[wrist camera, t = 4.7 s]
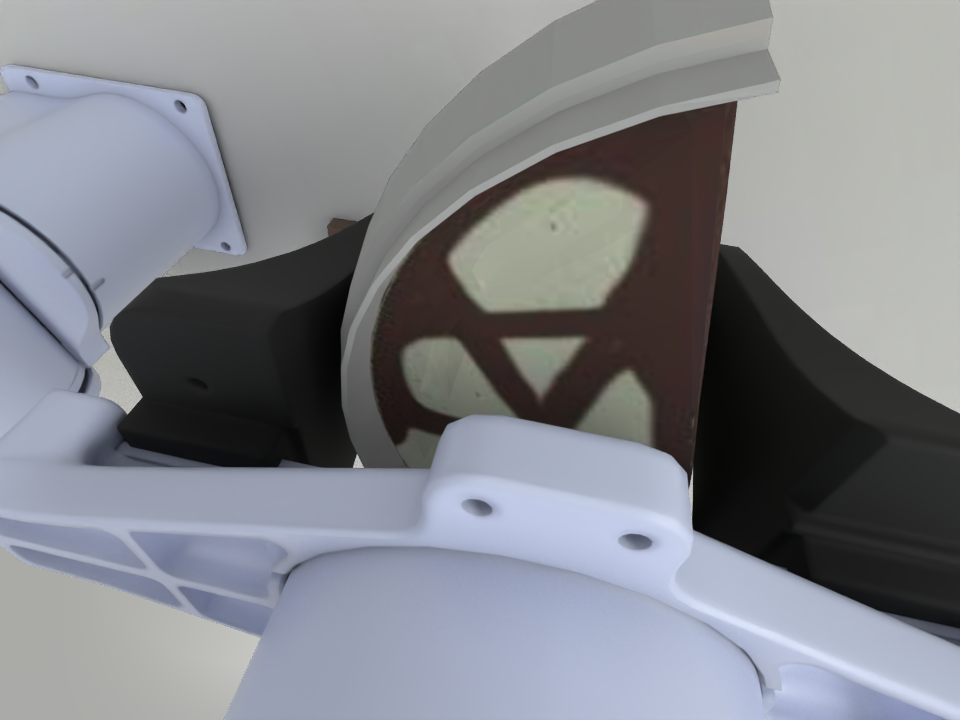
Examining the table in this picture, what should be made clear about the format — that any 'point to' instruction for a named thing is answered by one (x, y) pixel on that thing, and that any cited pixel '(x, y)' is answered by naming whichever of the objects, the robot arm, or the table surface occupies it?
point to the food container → (558, 236)
